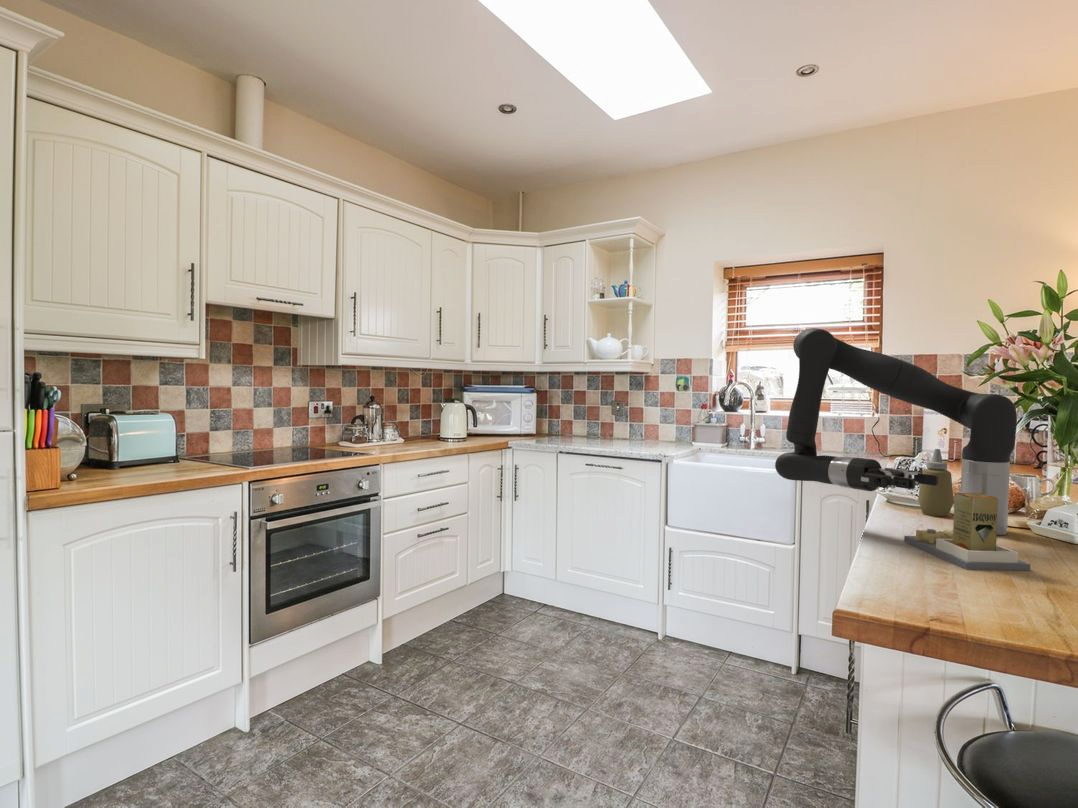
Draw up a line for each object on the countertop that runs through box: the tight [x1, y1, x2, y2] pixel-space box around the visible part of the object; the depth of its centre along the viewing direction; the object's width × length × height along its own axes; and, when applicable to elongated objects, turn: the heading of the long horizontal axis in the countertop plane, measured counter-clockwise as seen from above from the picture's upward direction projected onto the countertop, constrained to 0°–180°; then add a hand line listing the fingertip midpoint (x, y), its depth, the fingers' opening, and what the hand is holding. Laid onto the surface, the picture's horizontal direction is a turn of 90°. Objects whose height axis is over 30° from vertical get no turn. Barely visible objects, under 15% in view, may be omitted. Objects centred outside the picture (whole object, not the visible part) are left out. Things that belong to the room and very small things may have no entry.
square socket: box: [936, 538, 1019, 563], centre depth 116 cm, size 9×9×2 cm
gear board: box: [903, 528, 1032, 571], centre depth 121 cm, size 20×12×4 cm, turn 178°
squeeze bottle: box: [917, 448, 954, 517], centre depth 159 cm, size 8×8×18 cm
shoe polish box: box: [952, 492, 998, 551], centre depth 116 cm, size 5×5×12 cm
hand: (926, 482), depth 125 cm, fingers open, 8 cm apart
